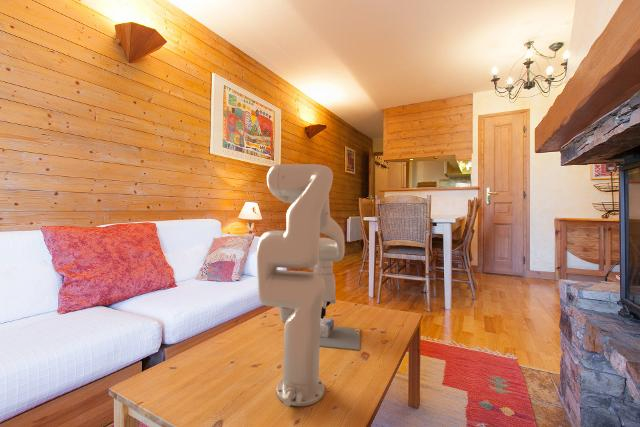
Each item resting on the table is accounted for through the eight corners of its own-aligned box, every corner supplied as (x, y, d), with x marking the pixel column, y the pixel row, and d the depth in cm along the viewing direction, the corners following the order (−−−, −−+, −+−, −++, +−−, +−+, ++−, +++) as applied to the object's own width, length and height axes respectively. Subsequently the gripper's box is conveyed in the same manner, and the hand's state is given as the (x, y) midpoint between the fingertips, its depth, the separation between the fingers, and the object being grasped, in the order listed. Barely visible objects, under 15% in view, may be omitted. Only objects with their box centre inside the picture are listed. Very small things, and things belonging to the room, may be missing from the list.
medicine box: (328, 326, 109) (306, 322, 112) (328, 338, 109) (306, 334, 112) (334, 319, 117) (313, 315, 119) (333, 330, 117) (313, 326, 119)
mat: (359, 350, 101) (359, 349, 101) (297, 344, 104) (297, 343, 104) (360, 329, 119) (360, 328, 119) (307, 324, 122) (307, 323, 122)
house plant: (302, 328, 118) (303, 288, 118) (268, 327, 118) (269, 287, 118) (304, 315, 132) (305, 279, 132) (274, 314, 133) (275, 278, 133)
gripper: (301, 271, 110) (300, 319, 110) (341, 273, 108) (340, 323, 108) (305, 267, 118) (304, 312, 118) (343, 269, 115) (341, 315, 116)
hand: (321, 317), depth 113 cm, fingers closed
